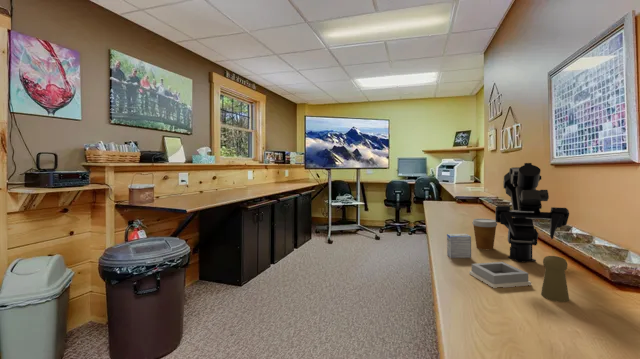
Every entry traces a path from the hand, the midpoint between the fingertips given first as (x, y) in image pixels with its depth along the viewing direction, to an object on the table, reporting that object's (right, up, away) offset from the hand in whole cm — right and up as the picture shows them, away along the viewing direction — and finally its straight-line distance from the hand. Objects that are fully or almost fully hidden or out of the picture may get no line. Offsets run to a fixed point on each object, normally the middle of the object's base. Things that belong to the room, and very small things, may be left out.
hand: (533, 236), depth 90 cm
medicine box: (-9, -14, +29) cm, 33 cm away
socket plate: (-7, -14, +5) cm, 17 cm away
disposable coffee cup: (+7, -13, +40) cm, 42 cm away
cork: (0, -15, -8) cm, 17 cm away
